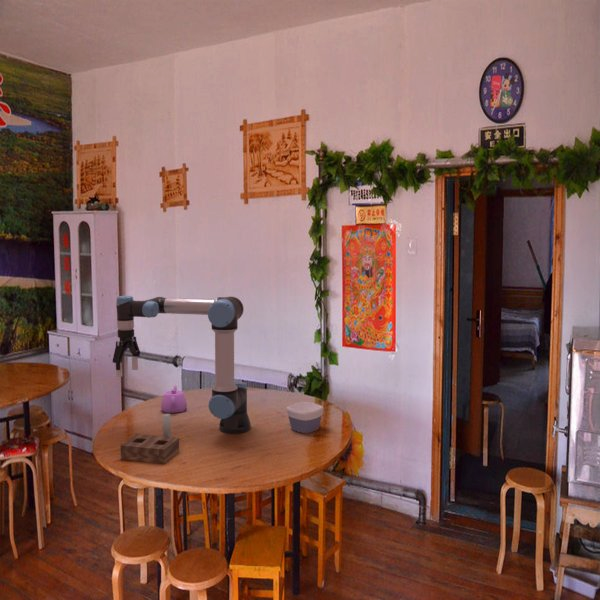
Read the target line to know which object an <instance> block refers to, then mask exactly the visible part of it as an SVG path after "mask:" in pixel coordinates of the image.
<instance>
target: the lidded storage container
mask: <svg viewBox="0 0 600 600" xmlns="http://www.w3.org/2000/svg"><path fill="white" fill-rule="evenodd" d="M323 412H324V407H323V406H322V405H321V404H318V403H313V402H309V401H300V402H299V401H298V402H295V403H292V404H290V405H288V406H287V407H286V413H287V416H288V420H289V425H290V429H291V430H292V431H295V432H296V431H297V432H296V433H300V432H301V433H300V434H305V433H306V434H311V433H313V431H314V432H315V431H317V430H318V429H319V427H320V424H321V420H322V415H323ZM310 432H311V433H310Z"/></svg>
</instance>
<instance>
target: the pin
mask: <svg viewBox="0 0 600 600" xmlns="http://www.w3.org/2000/svg"><path fill="white" fill-rule="evenodd" d="M171 419H172V418H171V413H164V414H162V436H165V437H172V422H171Z"/></svg>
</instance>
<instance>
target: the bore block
mask: <svg viewBox="0 0 600 600" xmlns="http://www.w3.org/2000/svg"><path fill="white" fill-rule="evenodd" d="M119 446H120V459H121V460H124V461H125V460H126V461H127V460H128V461H135V462H144V463H145V462H146V463H156V464H163V465H164V464H166V463H167V462H169V461H170V460H171V459H172V458H173V457H174V456H175V455H176V454H178V453H179V452H180V437H177V436H176V437H175V436H174V437H172V436H171V437H165V436H163V435H152V434H151V435H150V434H141V433H140V434H139V433H136V434H135V435H133V436H132V437H130V438H129V439H127V440H126V441H125V442H123V443H122V444H120V445H119Z"/></svg>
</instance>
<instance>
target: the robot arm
mask: <svg viewBox="0 0 600 600" xmlns="http://www.w3.org/2000/svg"><path fill="white" fill-rule="evenodd" d="M115 307H116V317H117V318H116V324H117V326H116V327H117V338H119V341H118V340H116V341H115V349H114V353H113V356H112V357H113V358H112V363H113V364H115V373H116V377H118V378H119V377H120V378H122V377H123V362H122V360H123V357H124V356H125V355H124V354H125V352H126V351H127V350H129V352H130V353H131V355H132V356H131V370H132V371H138V370H139V360H138V357H140V356H141V355H140V354H141V351H140V347H139V345H138V342H137V336H135V329H134V328H135V322H134V321H135V318H136V317H137V318H148V319H149V318H156V317H157V316H158V315H159V314H173V315H174V314H175V315H199V316H200V315H201V316H207V318H208V320H209V323H210V324H211V330H212V331H213V332H214V357H215V358H214V361H215V362H214V370H215V371H214V376H215V377H214V379H215V380H214V382H215V384H214V385H213V386H212V387H211V397H210V399H209V401H208V411H209V412H210V414H212V415H213V417H214V418H216V419H220V420H219V425H218V429H219V431H220V432H223V433H225V434H241V433H247V432H248V431H250V430H251V429H252V425H251V424H252V423H251V420H250V418H249V414H248V388H247V382H244V381H240V380H235V332H236V331H237V330H238V325H239V324H238V320H239V319H240V318H241V317H242V316H243V314H244V304H243V302H242V301H241V300H240V299H239V298H237V297H235V296H222V297H221V296H218V297H216V298H215V299H214V298H181V297H179V298H177V297H164V296H156V297H153V298H149V299H146V300H135V299H134V297H133V296H132V295H120V296H117V297H116V306H115Z"/></svg>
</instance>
